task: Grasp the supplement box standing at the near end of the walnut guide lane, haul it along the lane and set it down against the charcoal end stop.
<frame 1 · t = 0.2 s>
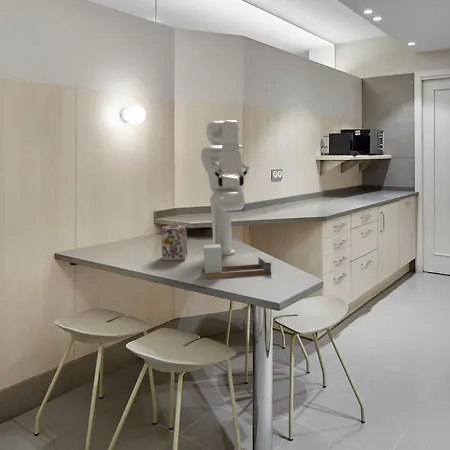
hand: (231, 186, 228), 36 cm above the table, tool pointing down, fingers open, 9 cm apart
supplement box: (213, 275, 214), on the table
guide lane: (233, 273, 216), on the table
decorative jar: (175, 258, 249), on the table
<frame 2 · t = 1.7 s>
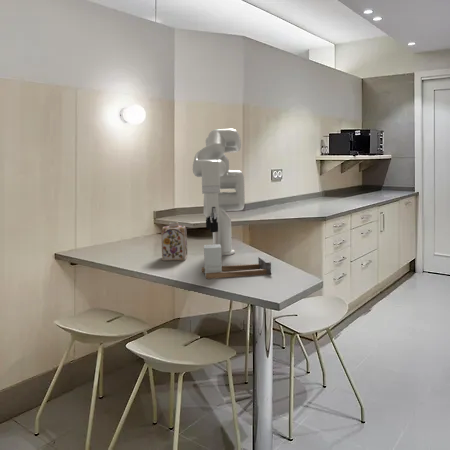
hand: (212, 230, 211), 19 cm above the table, tool pointing down, fingers open, 9 cm apart
nothing on the table moved.
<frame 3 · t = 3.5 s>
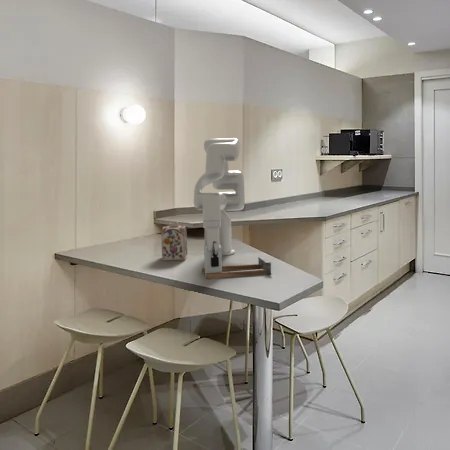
hand: (213, 264, 214), 5 cm above the table, tool pointing down, fingers closed on supplement box, 8 cm apart
supplement box: (213, 275, 214), on the table, touching gripper
everything else where it was.
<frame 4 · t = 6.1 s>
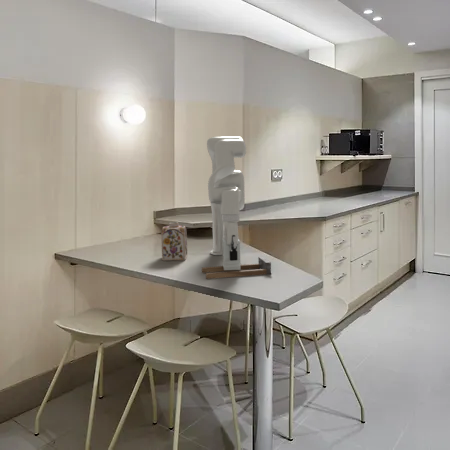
hand: (231, 257, 215), 7 cm above the table, tool pointing down, fingers closed on supplement box, 8 cm apart
supplement box: (231, 268, 216), point 2 cm above the table, touching gripper
everything else where it was.
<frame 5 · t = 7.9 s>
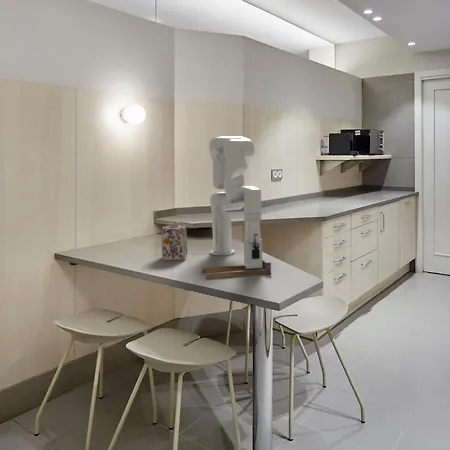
hand: (253, 256, 217), 7 cm above the table, tool pointing down, fingers closed on supplement box, 8 cm apart
supplement box: (253, 267, 218), point 2 cm above the table, touching gripper
everything else where it was.
when the fingers open (5 cm above the table, at t = 9.0 s): supplement box stays where it is, on the table.
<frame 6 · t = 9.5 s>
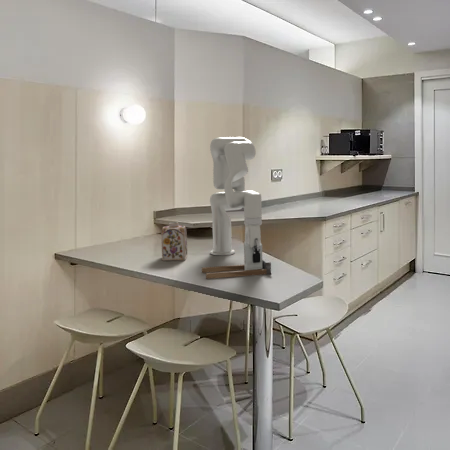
hand: (253, 260, 217), 5 cm above the table, tool pointing down, fingers open, 9 cm apart
supplement box: (253, 272, 218), on the table
everything else where it was.
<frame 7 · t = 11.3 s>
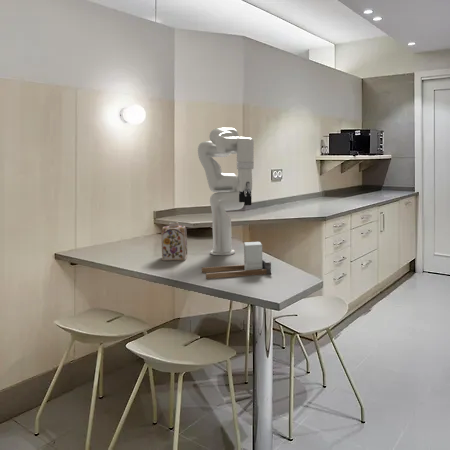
hand: (245, 203, 226), 29 cm above the table, tool pointing down, fingers open, 9 cm apart
nothing on the table moved.
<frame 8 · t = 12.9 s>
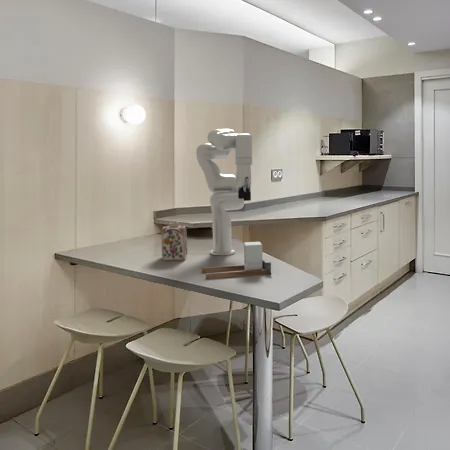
hand: (244, 199, 227), 30 cm above the table, tool pointing down, fingers open, 9 cm apart
nothing on the table moved.
at the end: supplement box inside the target area (0.4 cm from its centre), on the table; supplement box tilted 0°; the gripper is holding nothing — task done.
